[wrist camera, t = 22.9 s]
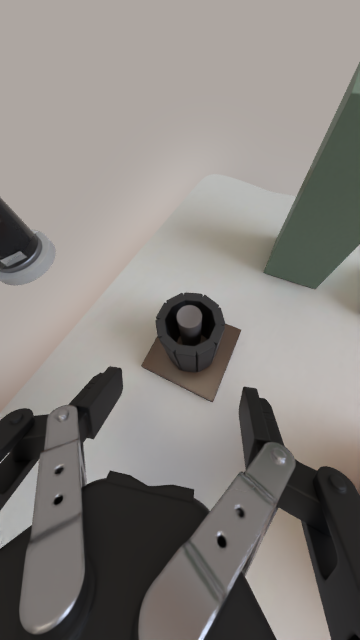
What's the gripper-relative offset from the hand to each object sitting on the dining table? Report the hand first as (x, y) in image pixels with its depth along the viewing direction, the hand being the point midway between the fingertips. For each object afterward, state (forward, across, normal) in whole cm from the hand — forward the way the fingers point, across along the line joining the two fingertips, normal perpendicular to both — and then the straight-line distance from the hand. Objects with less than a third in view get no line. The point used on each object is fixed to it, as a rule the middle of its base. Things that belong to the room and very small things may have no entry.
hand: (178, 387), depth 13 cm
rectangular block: (+22, -13, -7) cm, 26 cm away
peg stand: (+12, 0, +4) cm, 12 cm away
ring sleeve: (+11, 0, +3) cm, 11 cm away
